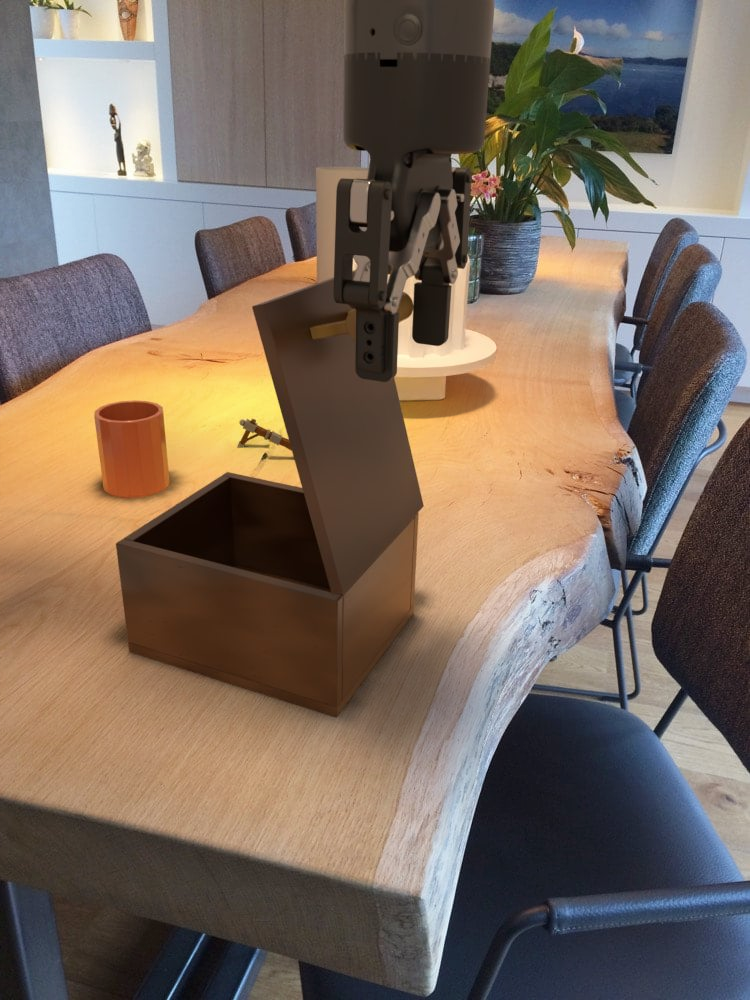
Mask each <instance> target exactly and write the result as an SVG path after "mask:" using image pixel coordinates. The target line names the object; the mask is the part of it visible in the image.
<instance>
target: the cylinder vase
mask: <svg viewBox="0 0 750 1000" xmlns="http://www.w3.org/2000/svg"><path fill="white" fill-rule="evenodd" d="M368 171H369V167H364V166H363V167H362V166H318V167H315V193H316V194H315V209H316V210H315V213H316V215H315V218H316V226H315V227H316V229H315V230H316V234H315V235H316V237H315V238H316V284H317V283H320V282H322V281H325V280H328V279H331V278H334V258H335V225H336V191H337V185H338V182H339V180H340V179H342V178H345V179H356V178H357V179H367V176H368ZM359 228H360V227H359Z"/></svg>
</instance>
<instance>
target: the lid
mask: <svg viewBox="0 0 750 1000" xmlns="http://www.w3.org/2000/svg"><path fill="white" fill-rule="evenodd" d="M355 272H356V270H353V271H352V280H353V279H354V276H355ZM333 292H334V278H331V279H328V280H325V281H322V282H320V283H317V282H316V283H314V284H312V285H311V284H310V285H308V286H305V287H303V288H300V289H298V290H295V291H292V292H289V293H286V294H282V295H280V296H278V297H273V298H271V299H269V300H266V301H263V302H260V303H258V304H257V303H256V304H255V305H252V306H251V308H252V313H253V316H254V320H255V323H256V327H257V330H258V334H259V337H260V341H261V344H262V348H263V351H264V355H265V359H266V363H267V367H268V370H269V374H270V377H271V380H272V384H273V387H274V391H275V394H276V395H275V396H276V398H277V403H278V406H279V409H280V413H281V416H282V420H283V423H284V427H285V428H284V429H285V431H286V435H287V439H289V442H290V446H291V449H292V451H291V453H292V456H293V459H294V463H295V466H296V471H297V474H298V478H299V482H300V486H301V488H302V489H303V492H304V496H305V499H306V503H307V507H308V510H309V514H310V517H311V521H312V525H313V528H314V532H315V535H316V539H317V543H318V546H319V550H320V553H321V557H322V561H323V564H324V568H325V571H326V575H327V579H328V582H329V586H330V589H331V593H332V595H342V594H344V593H345V592H346V591H347V590H348V589H349V587H350V586H351V585H352V584H353V583H354V582H355V581H356V580H357V579H358V578H359V576H360V575H361V574H362V573H363V572H364V571H365V570H366V569H367V568H368V567H369V566H370V564H371V563H372V562H373V561H374V560H375V559H376V558H377V557H378V556H379V555H380V554H381V552H382V551H383V550H384V549H385V548H386V547H387V546H388V545H389V544H390V543H391V542H392V540H393V539H394V538H395V537H396V536H397V535H398V534H399V533H400V532H401V531H402V530H403V528H404V527H405V526H406V525H407V524H408V523H409V522H410V521H411V520H412V519H413V518H414V516H415V515H416V514H417V513H419V512H420V511H421V510H422V509H423V508H424V502H423V496H422V493H421V488H420V484H419V479H418V476H417V470H416V467H415V461H414V457H413V453H412V450H411V445H410V441H409V440H410V439H409V436H408V432H407V428H406V423H405V419H404V414H403V410H402V406H401V401H399V396H398V392H397V388H396V383H395V379H394V378H392V379H391V380H389V381H387V382H381V381H374V380H368V379H362V378H360V377H359V376H358V375H357V374H356V371H355V359H356V309H352V308H351V307H350V305H348V304H341V303H336V302H335V300H334V295H333ZM412 312H413V302H412V299H411V298H410V296H409V295H408V294H407V293H405V292H403V293H402V297H401V301H400V304H399V307H398V310H397V312H396V313H399V323H400V322H402V321H404V320H405V319H407V318H409V317H410V315H411V314H412Z"/></svg>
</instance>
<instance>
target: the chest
mask: <svg viewBox="0 0 750 1000" xmlns="http://www.w3.org/2000/svg"><path fill="white" fill-rule="evenodd" d="M419 517H420V516H419V512H418V513H417V514H416V515H415V516H414V518H413V519H412V520H411V521H410V522H409V523H408V524H407V525H406V526H405V527H404V528H403V530H402V531H401V532H400V533H399V534H398V535H397V536H396V537H395V538H394V539H393V540H392V542H391V543H390V544H389V545H388V546H387V547H386V548H385V549H384V550H383V551H382V552H381V554H380V555H379V556H378V557H377V558H376V559H375V560H374V561H373V562H372V563H371V564H370V566H369V567H368V568H367V569H366V570H365V571H364V572H363V573H362V574H361V575H360V576H359V578H358V579H357V580H356V581H355V582H354V583H353V584H352V585H351V586H350V587H349V589H348V590H347V591H346V592H345V593H344V594H342V595H332V593H331V589H330V586H329V582H328V579H327V575H326V571H325V568H324V564H323V561H322V557H321V553H320V550H319V546H318V543H317V539H316V535H315V532H314V528H313V525H312V521H311V517H310V514H309V510H308V507H307V503H306V499H305V496H304V492H303V489H302V486H301V487H300V486H297V485H291V484H286V483H281V482H277V481H272V480H267V479H262V478H257V477H253V476H249V475H244V474H239V473H234V472H229V471H226V472H225V473H223V474H222V475H220V476H218V477H217V478H215V479H213V480H212V481H211V482H209V483H207V484H206V485H205V486H203V487H201V488H200V489H198V490H196V491H195V492H193V493H192V494H191V495H189V496H187V497H186V498H184V499H183V500H181V501H179V502H178V503H176V504H174V505H173V506H172V507H170V508H168V509H167V510H164V512H162V513H160V514H159V515H157V516H156V517H154V518H153V519H152V520H149V521H148V522H147V523H145V524H144V525H142V526H141V527H139V528H137V529H136V530H134V531H132V532H131V533H130V534H128V535H126V536H125V537H123V538H122V539H120V540H119V541H117V542H116V543H115V548H116V556H117V565H118V575H119V579H120V580H119V581H120V588H121V598H122V607H123V614H124V623H125V630H126V637H127V646H128V651H129V652H131V653H133V654H137V655H139V656H143V657H146V658H149V659H152V660H155V661H159V662H161V663H165V664H167V665H171V666H174V667H177V668H181V669H183V670H187V671H190V672H193V673H196V674H199V675H202V676H205V677H209V678H211V679H215V680H218V681H220V682H221V681H222V682H225V683H227V684H231V685H234V686H237V687H241V688H244V689H247V690H250V691H252V692H256V693H258V694H262V695H266V696H269V697H271V698H275V699H279V700H281V701H284V702H287V703H289V704H293V705H297V706H300V707H302V708H307V709H309V710H312V711H315V712H319V713H322V714H325V715H328V716H331V717H334V718H337V717H338V716H339V714H340V713H342V711H343V710H344V708H345V707H346V706H347V704H348V702H349V701H350V700H351V698H352V697H353V696H354V694H355V693H356V692H357V690H358V689H359V688H360V686H361V685H362V684H363V683H364V681H365V679H366V678H367V677H368V676H369V674H370V673H371V672H372V670H373V669H374V667H375V666H376V664H377V663H378V662H379V661H380V660H381V658H382V656H383V655H384V654H385V652H386V651H387V650H388V648H389V647H390V646H391V644H392V643H393V642H394V641H395V639H396V638H397V636H398V635H399V634H400V632H401V631H402V629H403V628H404V627H405V626H406V624H407V623H408V621H409V620H410V619H411V617H412V616H413V615H414V610H415V594H416V593H415V591H416V574H417V573H416V571H417V554H418V536H419V535H418V534H419V533H418V531H419Z"/></svg>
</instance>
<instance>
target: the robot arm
mask: <svg viewBox="0 0 750 1000" xmlns="http://www.w3.org/2000/svg"><path fill="white" fill-rule="evenodd" d="M343 4H344V5H343V6H344V7H343V23H344V25H343V118H342V119H343V121H342V123H343V125H342V126H343V127H342V128H343V129H342V130H343V131H342V134H343V135H342V137H343V142H344V144H345V145H346V146H347V147H348V148H349V149H351V150H353V151H360V152H361V151H362V152H367V154H368V156H369V163H368V168H369V171H368V176H367V179H357V178H356V179H345V178H342V179H340V180H339V182H338V185H337V191H336V225H335V258H334V292H333V295H334V300H335V302H336V303H341V304H348V305H350V307H351V308H352V309H356V359H355V371H356V374H357V375H358V376H359V377H360V378H362V379H368V380H374V381H381V382H387V381H389V380H391V379H392V378H394V377H395V376H396V373H397V356H398V329H399V313H396V312H397V310H398V307H399V304H400V301H401V297H402V293H403V290H404V286H405V283H406V280H407V279H408V278H410V277H412V276H415V279H416V280H420V281H422V282H417V283H415V284H414V303H413V326H412V338H413V340H414V341H415V342H416V343H419V344H426V345H433V346H440V345H442V344H444V343H445V342H446V341H447V340H448V334H449V318H450V302H451V285H449V284H454V283H455V281H456V279H457V276H458V269H457V268H460V269H464V268H465V266H466V263H467V261H468V257H469V255H468V249H469V229H470V215H471V191H472V181H473V175H472V169H471V168H470V167H462V166H461V167H459V166H458V167H457V166H452V165H453V163H452V155H465V154H467V155H469V154H475V153H477V152H479V151H480V150H481V149H482V148H483V147H484V145H485V140H486V139H485V137H486V124H487V110H488V99H489V98H488V97H489V84H490V71H491V56H492V44H493V30H494V29H493V28H494V18H495V0H344V3H343ZM359 227H360V228H359ZM467 255H468V256H467ZM353 259H354V260H355V262H356V264H357V269H356V272H355V276H354V279H353V280H352V271H353ZM388 274H390V276H389V280H388ZM387 280H388V283H387Z"/></svg>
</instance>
